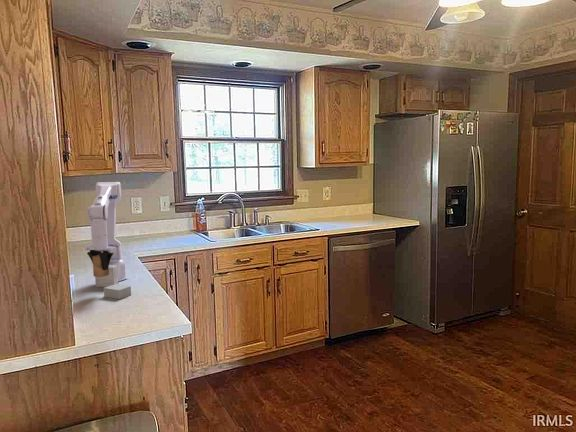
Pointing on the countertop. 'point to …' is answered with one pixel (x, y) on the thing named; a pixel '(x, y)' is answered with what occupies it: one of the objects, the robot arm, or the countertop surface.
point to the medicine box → (108, 278)
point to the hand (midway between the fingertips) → (101, 269)
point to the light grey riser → (117, 291)
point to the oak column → (99, 267)
